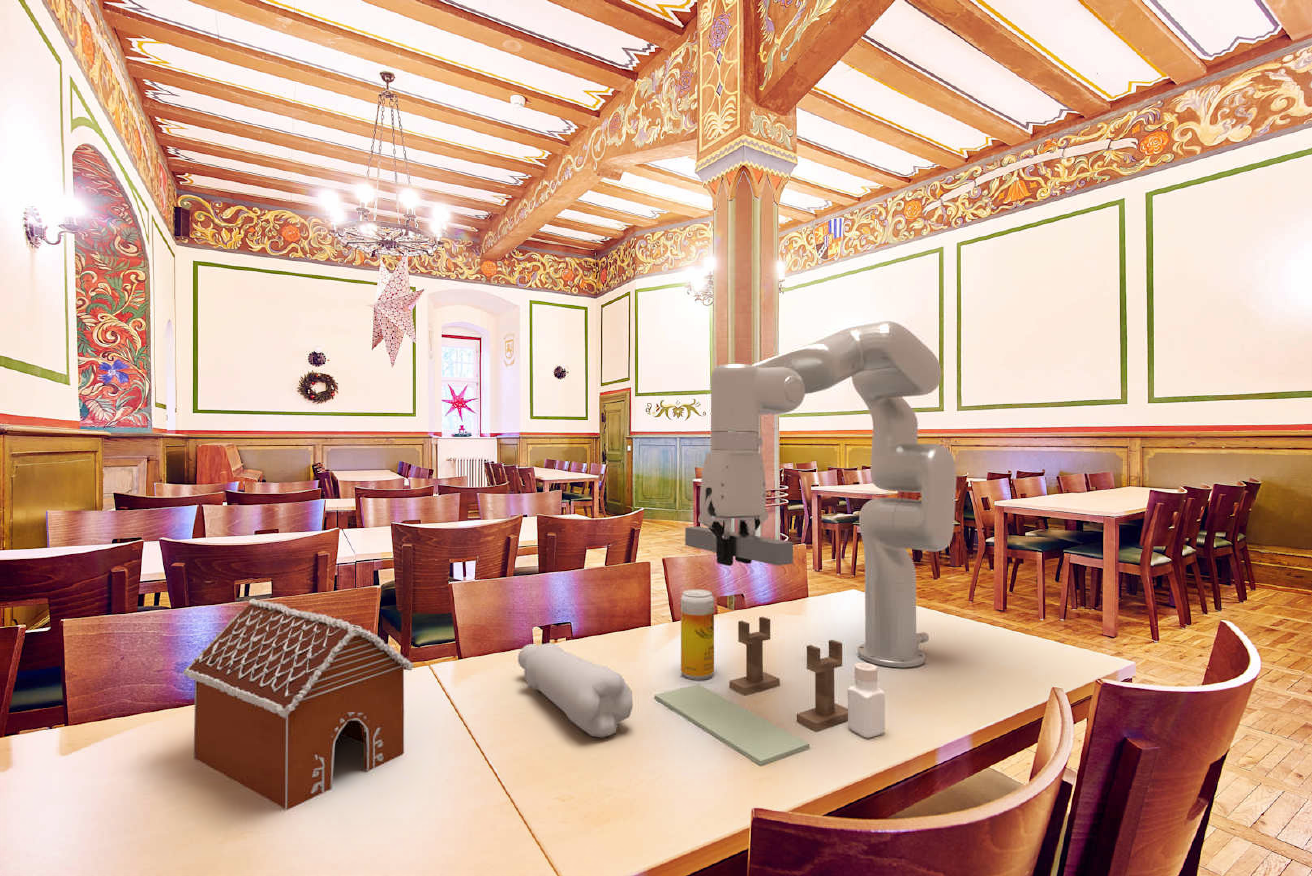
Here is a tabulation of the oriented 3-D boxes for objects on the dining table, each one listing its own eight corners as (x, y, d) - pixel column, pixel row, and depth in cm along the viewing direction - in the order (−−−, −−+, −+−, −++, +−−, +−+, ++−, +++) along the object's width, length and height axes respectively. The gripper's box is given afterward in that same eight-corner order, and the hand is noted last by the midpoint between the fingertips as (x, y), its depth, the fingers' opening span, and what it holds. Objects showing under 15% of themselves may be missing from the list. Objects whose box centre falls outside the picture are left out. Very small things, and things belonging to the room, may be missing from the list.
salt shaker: (866, 740, 88) (866, 673, 88) (846, 729, 91) (845, 664, 92) (886, 734, 90) (886, 668, 90) (865, 723, 93) (865, 660, 94)
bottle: (648, 706, 92) (561, 657, 117) (618, 661, 89) (536, 620, 114) (604, 755, 87) (523, 693, 112) (571, 709, 85) (496, 656, 110)
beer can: (712, 682, 110) (712, 597, 110) (678, 679, 111) (678, 595, 112) (715, 670, 116) (715, 589, 116) (683, 668, 117) (683, 588, 118)
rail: (685, 545, 104) (685, 527, 104) (699, 544, 106) (699, 526, 106) (777, 565, 86) (777, 543, 86) (792, 563, 87) (792, 542, 87)
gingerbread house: (279, 821, 69) (281, 640, 69) (175, 760, 82) (177, 609, 83) (420, 752, 85) (421, 605, 85) (313, 710, 98) (314, 584, 99)
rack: (764, 678, 112) (763, 614, 112) (853, 719, 95) (852, 643, 95) (729, 687, 107) (729, 621, 108) (816, 731, 91) (815, 652, 91)
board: (698, 687, 108) (698, 684, 108) (809, 748, 86) (809, 743, 86) (654, 698, 103) (654, 694, 103) (760, 765, 81) (760, 761, 81)
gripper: (758, 445, 104) (757, 555, 103) (677, 443, 95) (676, 564, 94) (790, 445, 97) (790, 562, 97) (707, 443, 89) (706, 572, 88)
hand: (734, 562), depth 96 cm, fingers closed on rail, 3 cm apart
